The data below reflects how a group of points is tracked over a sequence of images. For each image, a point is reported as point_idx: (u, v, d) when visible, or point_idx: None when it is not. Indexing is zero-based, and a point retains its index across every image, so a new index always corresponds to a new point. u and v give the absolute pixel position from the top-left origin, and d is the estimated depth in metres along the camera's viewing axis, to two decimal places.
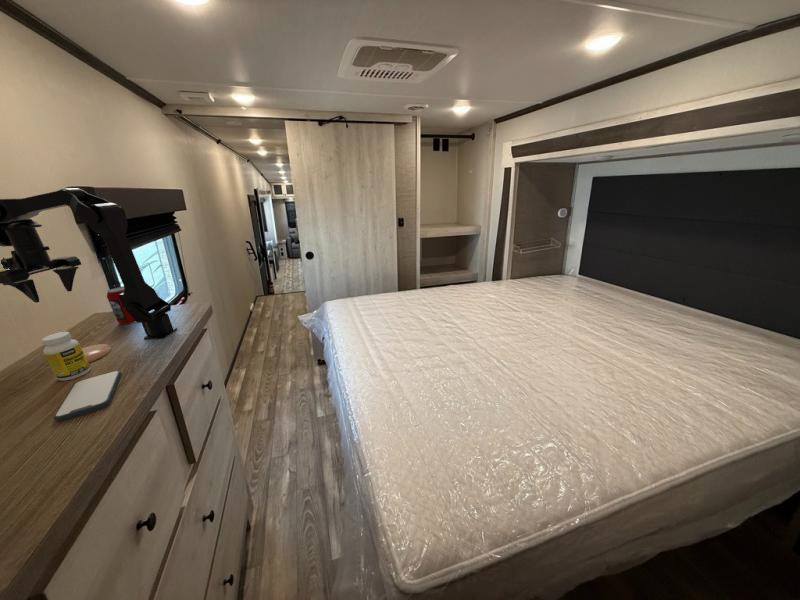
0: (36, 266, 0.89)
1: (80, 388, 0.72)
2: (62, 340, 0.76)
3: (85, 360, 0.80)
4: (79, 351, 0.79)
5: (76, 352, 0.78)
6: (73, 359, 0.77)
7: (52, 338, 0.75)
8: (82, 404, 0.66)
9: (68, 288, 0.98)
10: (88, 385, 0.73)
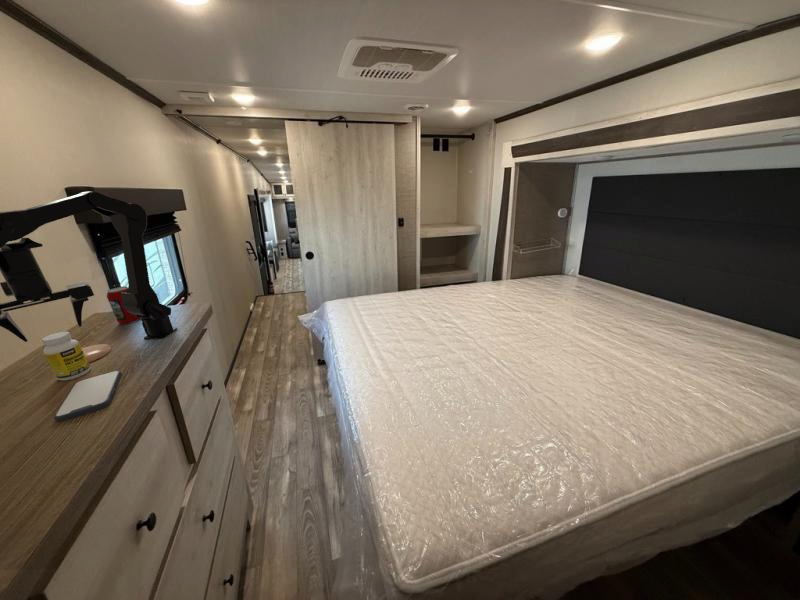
0: (18, 300, 0.69)
1: (80, 388, 0.72)
2: (62, 340, 0.76)
3: (85, 360, 0.80)
4: (79, 351, 0.79)
5: (76, 352, 0.78)
6: (73, 359, 0.77)
7: (52, 338, 0.75)
8: (82, 404, 0.66)
9: None
10: (88, 385, 0.73)
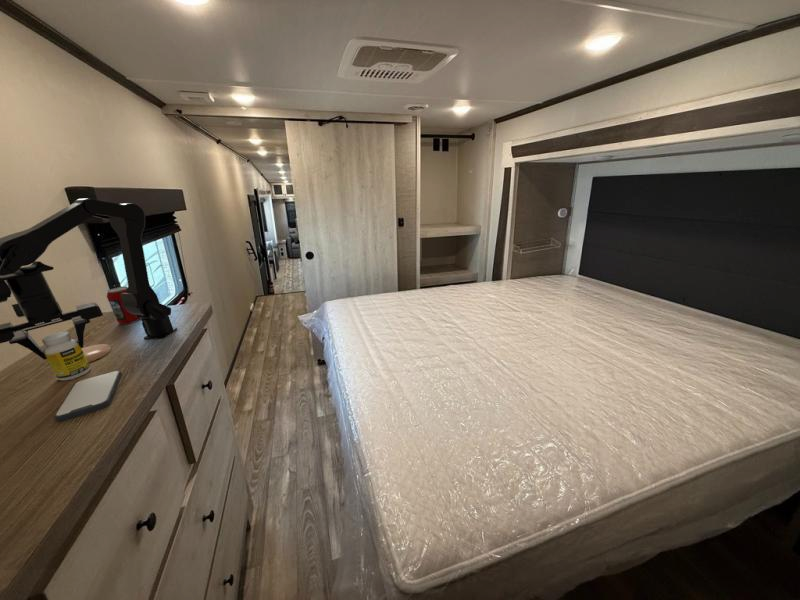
0: (30, 322, 0.71)
1: (80, 388, 0.72)
2: (62, 339, 0.76)
3: (85, 360, 0.80)
4: (79, 351, 0.79)
5: (76, 352, 0.78)
6: (73, 359, 0.77)
7: (52, 338, 0.75)
8: (82, 404, 0.66)
9: (79, 344, 0.79)
10: (88, 385, 0.73)
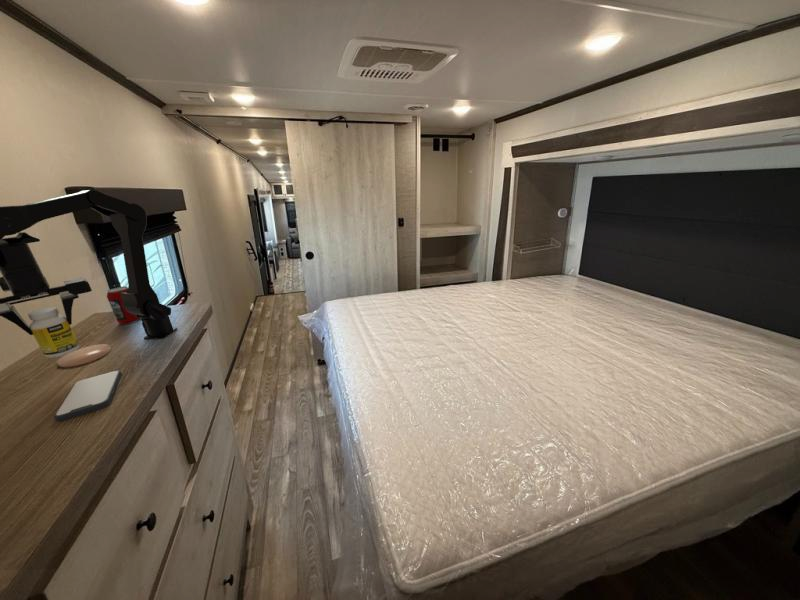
0: (15, 295, 0.69)
1: (80, 387, 0.72)
2: (49, 315, 0.73)
3: (73, 337, 0.78)
4: (67, 328, 0.76)
5: (64, 328, 0.75)
6: (61, 335, 0.75)
7: (38, 313, 0.72)
8: (82, 404, 0.66)
9: None
10: (88, 385, 0.73)
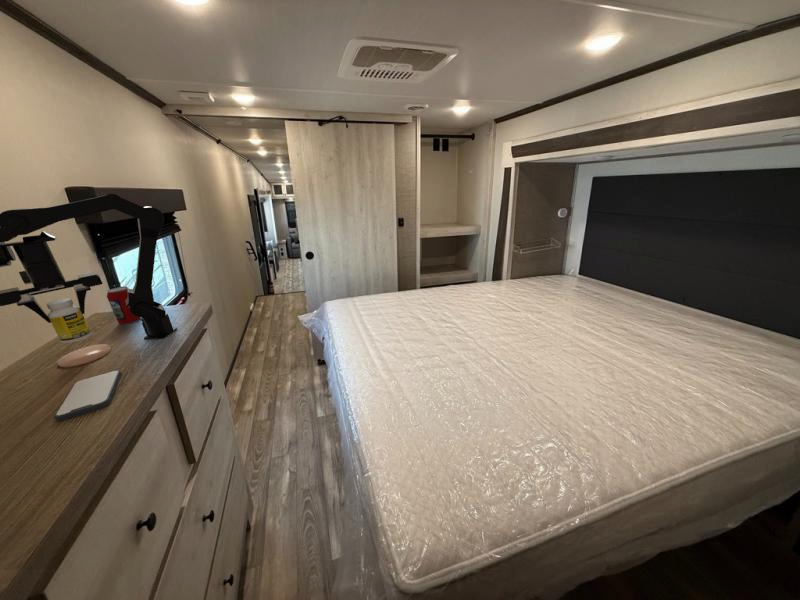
0: (36, 287, 0.78)
1: (80, 387, 0.72)
2: (65, 304, 0.82)
3: (86, 325, 0.87)
4: (80, 317, 0.85)
5: (78, 317, 0.84)
6: (75, 323, 0.84)
7: (56, 303, 0.81)
8: (82, 404, 0.66)
9: (81, 310, 0.86)
10: (88, 385, 0.73)
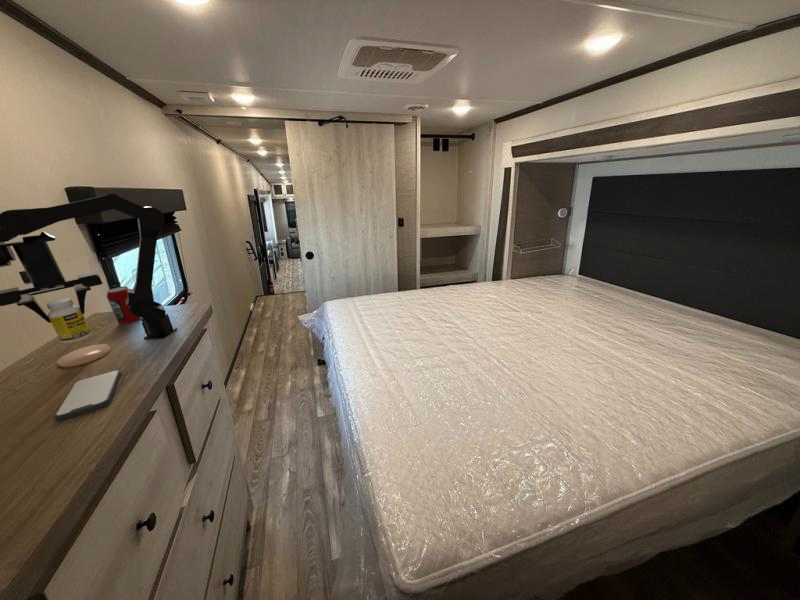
0: (36, 287, 0.78)
1: (80, 387, 0.72)
2: (65, 304, 0.82)
3: (86, 325, 0.87)
4: (80, 317, 0.85)
5: (78, 317, 0.84)
6: (75, 323, 0.84)
7: (56, 303, 0.81)
8: (82, 403, 0.67)
9: (81, 310, 0.86)
10: (88, 385, 0.73)
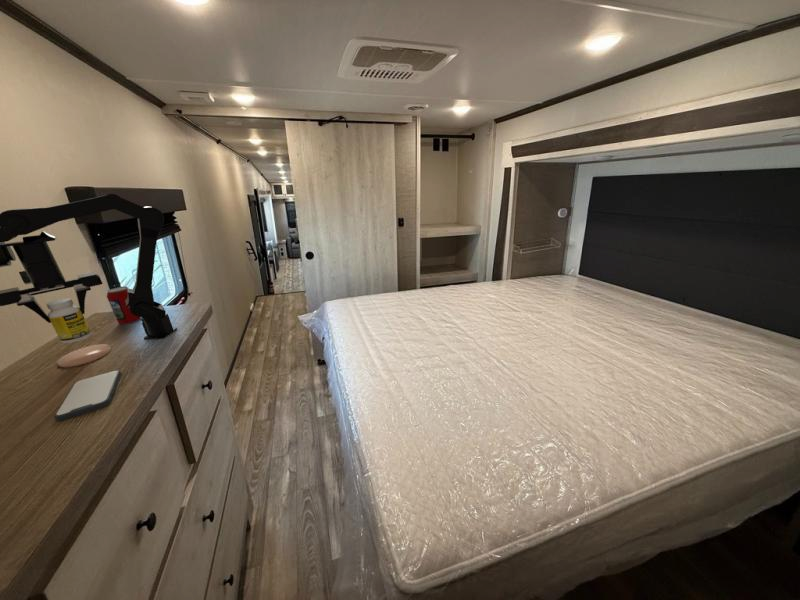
0: (36, 287, 0.78)
1: (80, 387, 0.72)
2: (65, 304, 0.82)
3: (86, 325, 0.87)
4: (80, 317, 0.85)
5: (78, 317, 0.84)
6: (75, 323, 0.84)
7: (56, 303, 0.81)
8: (82, 403, 0.67)
9: (81, 310, 0.86)
10: (88, 385, 0.73)
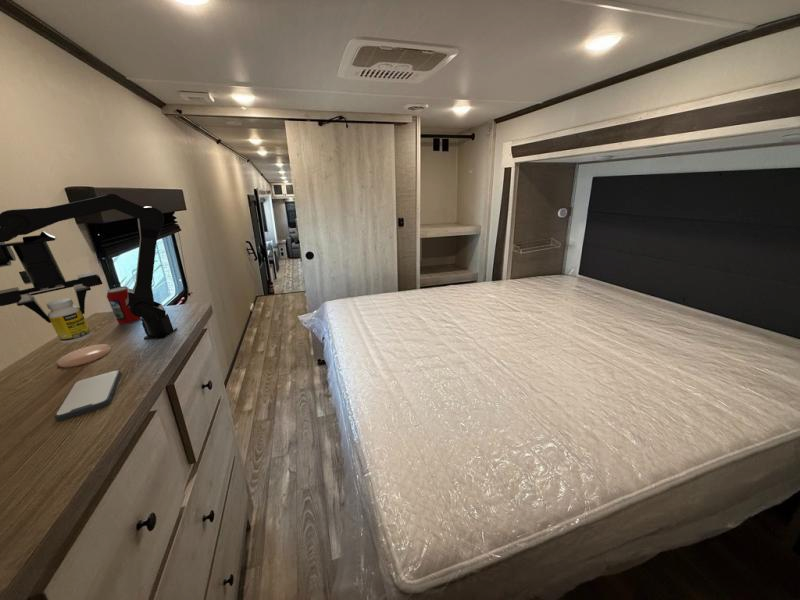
0: (36, 287, 0.78)
1: (80, 387, 0.73)
2: (65, 304, 0.82)
3: (86, 325, 0.87)
4: (80, 317, 0.85)
5: (78, 317, 0.84)
6: (75, 323, 0.84)
7: (56, 303, 0.81)
8: (82, 403, 0.67)
9: (81, 310, 0.86)
10: (88, 385, 0.73)
